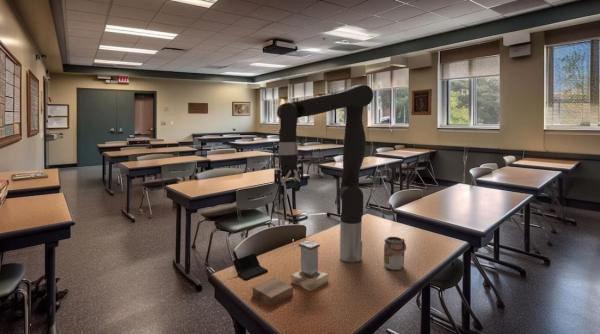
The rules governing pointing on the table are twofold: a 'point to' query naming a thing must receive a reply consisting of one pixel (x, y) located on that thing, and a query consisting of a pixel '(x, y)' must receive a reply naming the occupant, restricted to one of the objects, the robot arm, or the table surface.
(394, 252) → the beverage can
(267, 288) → the stand
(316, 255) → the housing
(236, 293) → the table surface
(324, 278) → the stand
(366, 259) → the table surface
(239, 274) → the handheld gaming console
